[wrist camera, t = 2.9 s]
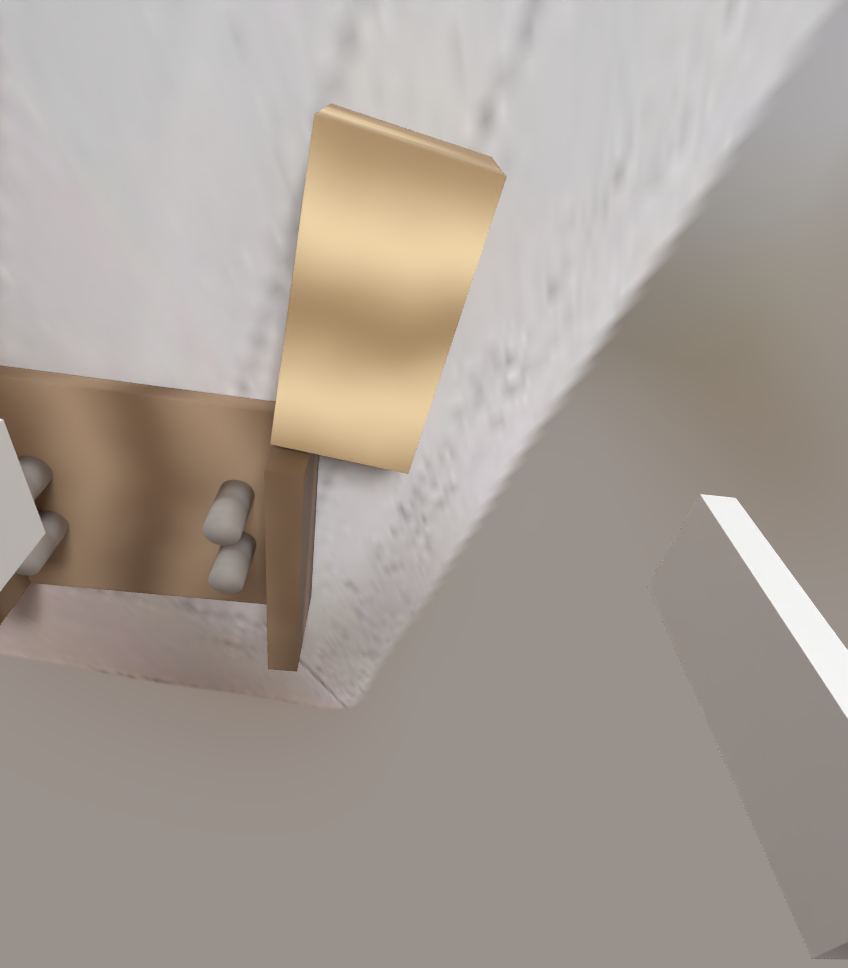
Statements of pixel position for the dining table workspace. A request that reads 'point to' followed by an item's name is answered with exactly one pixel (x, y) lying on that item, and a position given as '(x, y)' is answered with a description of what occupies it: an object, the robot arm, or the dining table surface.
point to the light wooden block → (377, 285)
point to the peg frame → (163, 496)
